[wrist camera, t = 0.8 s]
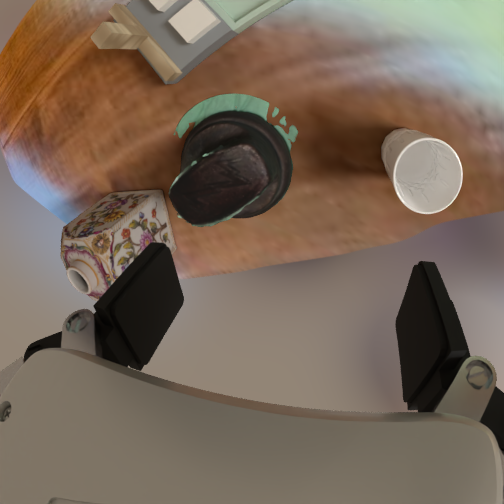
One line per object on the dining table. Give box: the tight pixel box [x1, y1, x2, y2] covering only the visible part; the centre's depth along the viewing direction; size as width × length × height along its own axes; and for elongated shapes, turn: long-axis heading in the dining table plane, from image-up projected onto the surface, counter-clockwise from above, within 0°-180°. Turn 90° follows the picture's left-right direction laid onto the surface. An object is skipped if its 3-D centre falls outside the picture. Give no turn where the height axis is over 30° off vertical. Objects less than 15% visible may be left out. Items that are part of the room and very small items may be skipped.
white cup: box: [381, 128, 463, 214], centre depth 26 cm, size 8×8×10 cm
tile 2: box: [168, 0, 221, 44], centre depth 23 cm, size 4×4×2 cm
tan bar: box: [90, 3, 182, 81], centre depth 22 cm, size 2×16×9 cm, turn 36°
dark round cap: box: [169, 94, 298, 227], centre depth 34 cm, size 20×20×9 cm
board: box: [114, 0, 238, 84], centre depth 25 cm, size 11×15×3 cm
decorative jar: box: [61, 190, 177, 301], centre depth 39 cm, size 12×12×18 cm
